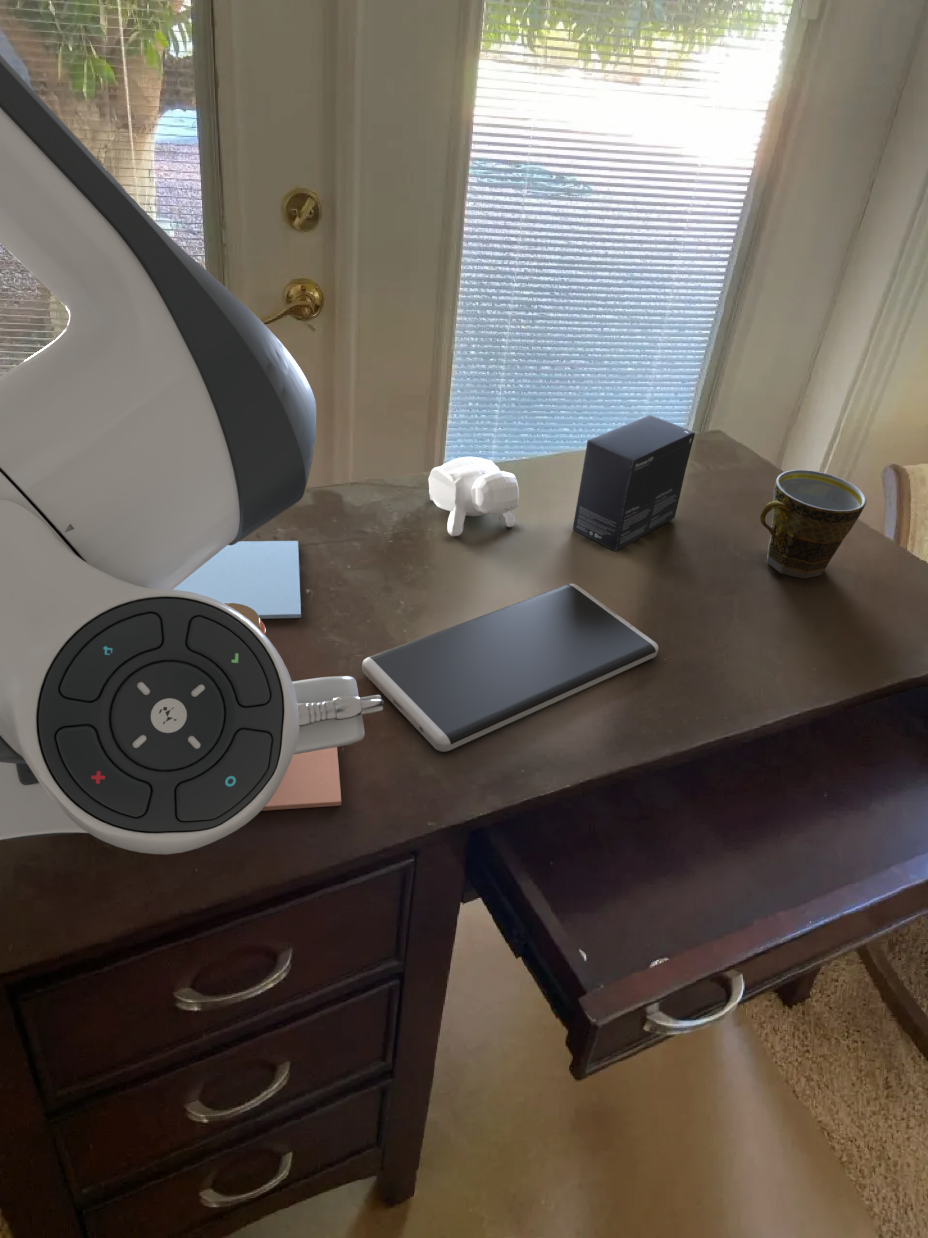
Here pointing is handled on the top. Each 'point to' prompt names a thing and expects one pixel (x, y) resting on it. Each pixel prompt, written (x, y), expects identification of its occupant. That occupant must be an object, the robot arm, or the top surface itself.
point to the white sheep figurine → (473, 491)
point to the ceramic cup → (809, 520)
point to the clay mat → (309, 782)
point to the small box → (632, 480)
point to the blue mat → (252, 578)
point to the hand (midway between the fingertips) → (174, 744)
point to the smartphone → (506, 664)
